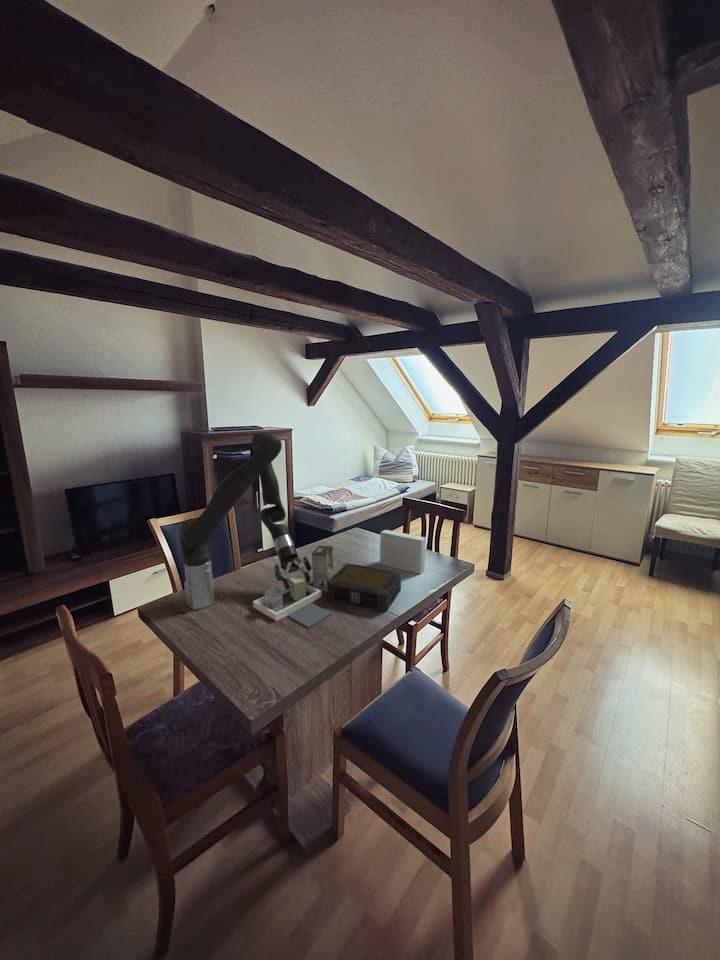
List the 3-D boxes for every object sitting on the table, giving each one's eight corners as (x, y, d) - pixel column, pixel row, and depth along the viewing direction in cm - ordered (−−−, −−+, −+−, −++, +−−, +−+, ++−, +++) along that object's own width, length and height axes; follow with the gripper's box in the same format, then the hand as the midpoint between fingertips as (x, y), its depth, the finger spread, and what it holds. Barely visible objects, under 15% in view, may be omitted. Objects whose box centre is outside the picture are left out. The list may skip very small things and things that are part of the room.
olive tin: (295, 601, 147) (294, 583, 146) (290, 596, 151) (289, 578, 150) (306, 597, 150) (305, 579, 148) (301, 592, 154) (300, 575, 152)
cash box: (325, 600, 148) (324, 582, 146) (347, 578, 166) (347, 562, 165) (385, 614, 138) (385, 595, 137) (402, 589, 157) (402, 572, 155)
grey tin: (273, 613, 139) (272, 595, 137) (265, 609, 142) (264, 591, 140) (283, 608, 142) (282, 590, 141) (275, 604, 145) (274, 586, 144)
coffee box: (319, 579, 165) (318, 545, 161) (333, 581, 163) (333, 546, 160) (312, 590, 156) (311, 553, 152) (327, 591, 155) (327, 554, 151)
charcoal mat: (308, 628, 130) (308, 626, 130) (288, 616, 137) (288, 615, 137) (331, 614, 138) (331, 613, 138) (310, 604, 145) (310, 602, 145)
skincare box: (425, 570, 173) (426, 537, 170) (420, 574, 169) (421, 541, 165) (384, 559, 184) (385, 528, 181) (379, 563, 180) (379, 532, 177)
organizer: (276, 621, 134) (275, 614, 134) (253, 607, 143) (253, 601, 143) (321, 596, 151) (321, 590, 150) (298, 585, 159) (298, 580, 159)
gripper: (271, 548, 149) (284, 587, 142) (303, 540, 157) (317, 577, 150) (266, 556, 154) (279, 594, 148) (298, 548, 162) (312, 583, 156)
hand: (298, 585), depth 149 cm, fingers open, 8 cm apart
